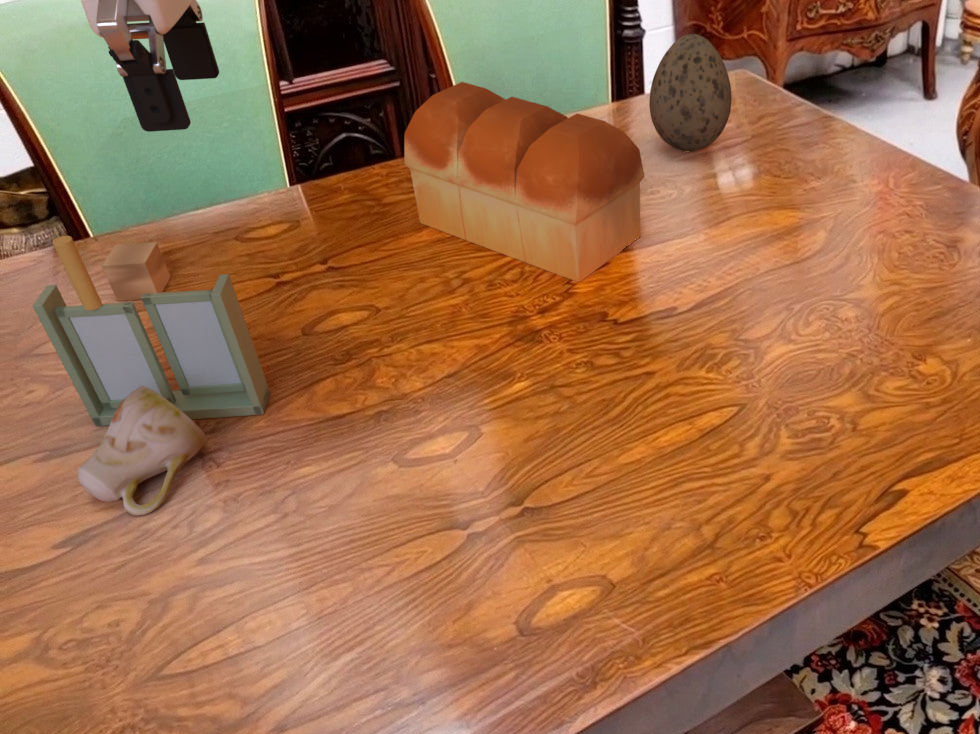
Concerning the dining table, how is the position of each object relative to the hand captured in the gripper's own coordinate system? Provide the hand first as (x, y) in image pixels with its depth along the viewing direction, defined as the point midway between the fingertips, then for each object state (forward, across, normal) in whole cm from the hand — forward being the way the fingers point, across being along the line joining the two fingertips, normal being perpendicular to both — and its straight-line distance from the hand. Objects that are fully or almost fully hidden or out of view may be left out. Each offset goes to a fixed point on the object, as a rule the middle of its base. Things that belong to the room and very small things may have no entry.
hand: (184, 102), depth 69 cm
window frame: (+28, +1, -9) cm, 29 cm away
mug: (+28, +10, -10) cm, 31 cm away
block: (+28, -22, -18) cm, 40 cm away
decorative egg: (+28, -48, +47) cm, 72 cm away
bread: (+28, -28, +24) cm, 47 cm away
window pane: (+27, +1, -12) cm, 29 cm away
